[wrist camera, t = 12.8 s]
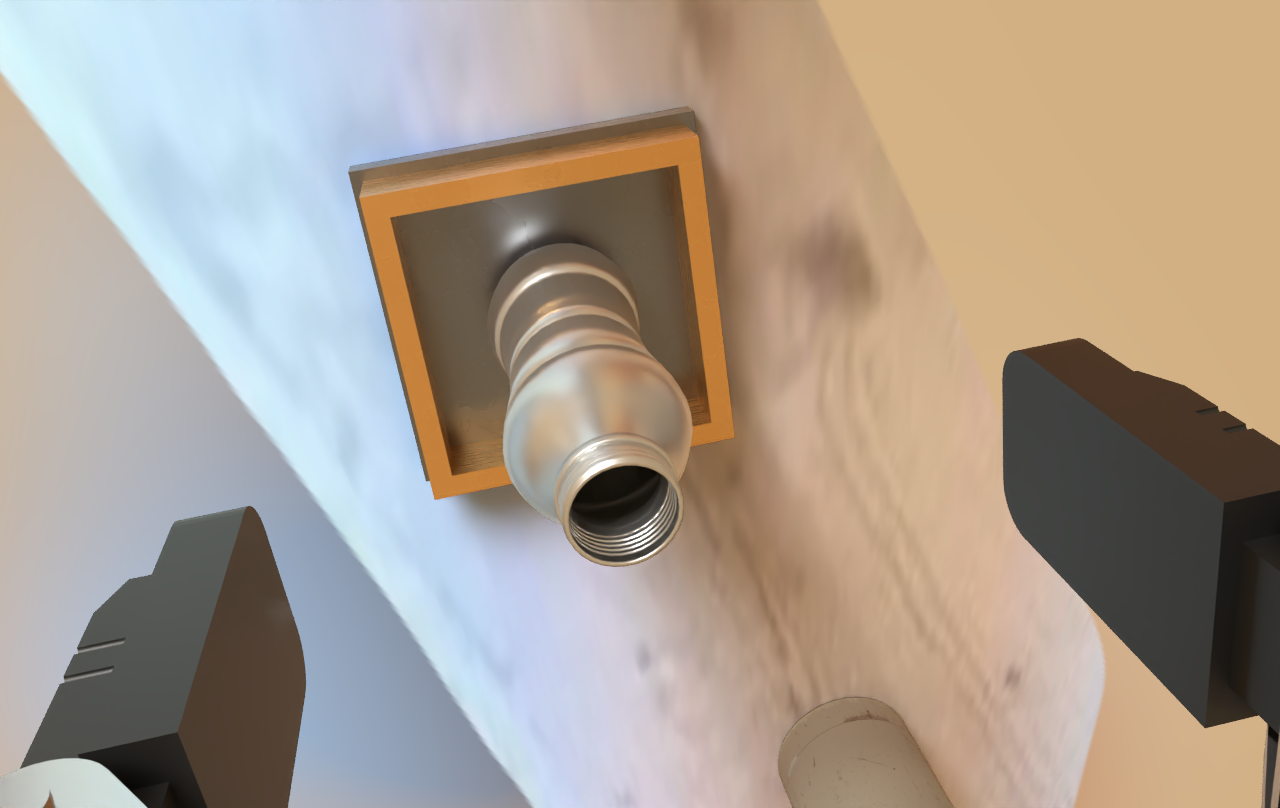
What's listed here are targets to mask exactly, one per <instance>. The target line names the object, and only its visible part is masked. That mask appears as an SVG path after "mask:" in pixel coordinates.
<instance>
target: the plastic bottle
mask: <svg viewBox="0 0 1280 808" xmlns="http://www.w3.org/2000/svg"><path fill="white" fill-rule="evenodd" d="M639 329H640V318H639V308H638V299H637V296H636V293H635V290H634V287H633V285H632V283H631V282H630V280H629V278H628V276H627V275H626V274H625V272H624V271H623V270H622V269H621V268H620V267H619V266H618V265H617V264H616V263H614V262H613V261H612V260H610V259H609V258H607V257H606V256H605V255H603V254H602V253H600V252H599V251H596V250H594V249H592V248H589V247H587V246H583V245H578V244H574V243H557V244H552V245H546V246H543V247H540V248H537V249H535V250H532V251H530V252H529V253H527V254H525V255H524V256H522V257H520V258H519V259H518V260H517V261H516V262H515V263H513V264H512V265H511V266H510V267H509V268H508V270H507V271H506V272H505V273H504V275H503V276H502V277H501V279H500V281H499V283H498V285H497V287H496V289H495V291H494V294H493V296H492V299H491V302H490V306H489V310H488V317H487V330H488V336H489V341H490V344H491V346H492V349H493V351H494V354H495V356H496V358H497V360H498V362H499V363H500V365H501V366H502V368H503V369H504V371H505V372H506V374H507V375H508V377H509V380H510V398H509V403H508V407H507V412H506V417H505V421H504V432H503V455H504V462H505V467H506V470H507V472H508V475H509V477H510V480H511V482H512V483H513V485H514V486H515V488H516V489H517V490H518V492H519V493H520V495H521V496H522V497H523V498H524V499H525V500H526V501H527V502H528V503H529V504H530V505H531V506H532V507H533V508H534V509H535V510H536V511H537V512H539V513H540V514H541V515H543V516H545V517H546V518H548V519H550V520H551V521H553V522H555V523H558V524H561V525H563V529H564V532H565V534H566V537H567V539H568V540H569V542H570V543H571V545H572V546H573V548H574V549H575V550H576V551H577V552H578V553H579V554H580V555H581V556H583V557H584V558H586V559H588V560H589V561H591V562H594V563H597V564H600V565H604V566H611V567H621V566H629V565H634V564H637V563H640V562H643V561H645V560H648V559H649V558H651V557H653V556H655V555H656V554H658V553H659V552H660V551H661V550H663V549H664V548H665V547H666V546H667V545H668V544H669V543H670V542H671V540H672V539H673V538H674V536H675V535H676V533H677V531H678V530H679V527H680V525H681V522H682V519H683V512H684V502H683V494H682V491H681V488H680V485H679V483H678V482H679V480H680V478H681V477H682V475H683V473H684V470H685V467H686V464H687V461H688V459H689V453H690V447H691V440H692V433H693V428H692V416H691V412H690V408H689V405H688V402H687V399H686V397H685V395H684V394H683V392H682V390H681V389H680V387H679V385H678V384H677V382H676V381H675V380H674V378H673V376H672V375H671V374H670V373H669V372H668V371H667V370H666V369H665V368H664V367H663V366H662V365H661V364H660V363H659V362H658V361H657V360H656V359H655V358H654V357H653V356H652V355H651V354H650V353H649V352H648V351H647V349H646V347H645V346H644V344H643V342H642V341H641V337H640V333H639Z"/></svg>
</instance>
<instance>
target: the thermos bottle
mask: <svg viewBox="0 0 1280 808" xmlns="http://www.w3.org/2000/svg"><path fill="white" fill-rule="evenodd" d="M778 768H779V775H780V777H781V780H782V783H783V785H784V788H785V790H786V793H787V795H788V798H789V800H790V803H791V805H792V807H793V808H954V807H953V805H952V803H951V802H950V800H949V798H948V797H947V795H946V793H945V792H944V790H943V788H942V786H941V785H940V783H939V781H938V780H937V778H936V776H935V775H934V773H933V771H932V769H931V768H930V766H929V764H928V763H927V761H926V759H925V757H924V756H923V754H922V752H921V751H920V749H919V747H918V746H917V744H916V742H915V740H914V739H913V737H912V735H911V734H910V732H909V730H908V729H907V727H906V725H905V724H904V722H903V720H902V719H901V717H900V715H898V714H897V713H896V712H895V711H894V710H893V709H892V708H891V707H889V706H887V705H886V704H884V703H882V702H879V701H876V700H873V699H869V698H860V697H855V698H844V699H839V700H834V701H831V702H829V703H826V704H824V705H821V706H819V707H817V708H816V709H814V710H812V711H810V712H809V713H807V714H806V715H805V716H804V717H802V718H801V719H800V720H799V721H798V722H797V723H796V724H795V725H794V726H793V727H792V729H791V730H790V731H789V733H788V734H787V736H786V737H785V739H784V741H783V744H782V746H781V749H780V752H779V759H778Z"/></svg>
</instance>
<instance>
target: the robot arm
mask: <svg viewBox="0 0 1280 808" xmlns="http://www.w3.org/2000/svg"><path fill="white" fill-rule="evenodd" d="M1003 480H1004V491H1005V496H1006V501H1007V504H1008V508H1009V511H1010V514H1011V516H1012V518H1013V521H1014V523H1015V525H1016V527H1017V528H1018V530H1019V532H1020V533H1021V534H1022V536H1023V537H1024V538H1025V539H1026V540H1027V541H1028V542H1029V543H1030V544H1031V545H1032V547H1033V548H1034V549H1035V550H1036V551H1037V552H1038V553H1039V554H1040V555H1041V556H1042V557H1043V558H1044V559H1045V560H1046V561H1047V562H1048V563H1049V564H1050V565H1051V567H1052V568H1053V569H1054V570H1055V571H1056V572H1057V573H1058V574H1059V575H1060V576H1061V577H1062V578H1063V579H1064V580H1065V581H1066V582H1067V583H1068V584H1069V585H1070V587H1071V588H1072V589H1073V590H1074V591H1075V592H1076V593H1077V594H1078V595H1079V596H1080V597H1081V598H1082V599H1083V600H1084V601H1085V602H1086V603H1087V604H1088V606H1089V607H1090V608H1091V609H1092V610H1093V611H1094V612H1095V613H1096V614H1097V615H1098V616H1099V617H1100V618H1101V619H1102V620H1103V621H1104V622H1105V623H1106V624H1107V626H1108V627H1110V629H1111V630H1112V631H1113V632H1114V633H1115V634H1116V635H1117V636H1118V637H1119V638H1120V639H1121V640H1122V641H1123V642H1124V643H1125V644H1126V646H1127V647H1128V648H1130V650H1131V651H1132V652H1133V653H1134V654H1135V655H1136V656H1137V657H1138V658H1139V659H1140V660H1141V661H1142V662H1143V663H1144V664H1145V666H1146V667H1147V668H1148V669H1149V670H1151V672H1152V673H1153V674H1154V675H1155V676H1156V677H1157V678H1158V679H1159V680H1160V681H1161V682H1162V683H1163V685H1164V686H1165V687H1167V689H1168V690H1169V691H1170V692H1171V693H1172V694H1173V695H1174V696H1175V697H1176V698H1177V699H1178V700H1179V701H1180V702H1181V703H1182V705H1183V706H1184V707H1185V708H1186V709H1187V710H1188V711H1189V712H1190V713H1191V714H1192V715H1193V716H1194V717H1195V718H1196V719H1197V720H1198V721H1199V722H1200V724H1201V725H1203V726H1204V728H1208V727H1212V726H1216V725H1220V724H1225V723H1229V722H1233V721H1237V720H1241V719H1245V718H1249V717H1253V716H1258V715H1259V716H1260V717H1261V718H1262V719H1263V720H1264V721H1265V722H1266V723H1267V732H1266V741H1265V750H1264V763H1263V784H1262V785H1263V786H1262V807H1261V808H1280V445H1278V444H1277V443H1275V442H1273V441H1272V440H1270V439H1268V438H1267V437H1265V436H1264V435H1262V434H1260V433H1259V432H1258V431H1256V430H1254V429H1248V430H1247V428H1246V424H1245V423H1243V422H1242V421H1240V420H1238V419H1237V418H1235V417H1234V416H1232V415H1231V414H1229V413H1227V412H1226V411H1221V412H1219V410H1218V406H1216V405H1215V404H1213V403H1211V402H1210V401H1208V400H1206V399H1205V398H1204V397H1202V396H1200V395H1199V394H1197V393H1196V392H1194V391H1192V390H1191V389H1189V388H1188V387H1186V386H1184V385H1181V384H1178V383H1175V382H1172V381H1168V380H1165V379H1162V378H1159V377H1155V376H1152V375H1149V374H1145V373H1142V372H1139V371H1132V370H1131V369H1129V368H1127V367H1126V366H1125V365H1123V364H1122V363H1120V362H1119V361H1117V360H1115V359H1114V358H1112V357H1111V356H1109V355H1108V354H1106V353H1105V352H1103V351H1102V350H1100V349H1099V348H1097V347H1096V346H1094V345H1093V344H1091V343H1090V342H1088V341H1086V340H1084V339H1081V338H1077V339H1071V340H1067V341H1062V342H1057V343H1052V344H1047V345H1042V346H1037V347H1032V348H1027V349H1023V350H1018V351H1013V352H1012V353H1010V354H1009V355H1008V357H1007V358H1006V361H1005V364H1004V368H1003ZM77 649H78V654H76V655H74V656H73V658H72V660H71V662H70V664H69V666H68V668H67V670H66V673H65V675H64V680H65V683H62V684H60V685H59V687H58V689H57V691H56V694H55V696H54V698H53V700H52V702H51V704H50V706H49V708H48V710H47V713H46V715H45V717H44V719H43V721H42V723H41V726H40V727H39V730H38V732H37V734H36V736H35V738H34V740H33V742H32V744H31V746H30V749H29V751H28V753H27V755H26V757H25V759H24V761H23V763H22V765H21V768H20V769H19V770H16V771H13V772H11V773H9V774H6V775H4V776H2V777H0V808H288V802H289V796H290V789H291V783H292V776H293V770H294V764H295V757H296V751H297V744H298V738H299V731H300V724H301V718H302V712H303V705H304V698H305V690H306V673H305V663H304V656H303V650H302V645H301V641H300V636H299V633H298V630H297V626H296V623H295V620H294V617H293V614H292V611H291V608H290V605H289V602H288V599H287V596H286V593H285V590H284V587H283V583H282V580H281V578H280V574H279V571H278V568H277V565H276V562H275V559H274V556H273V553H272V550H271V547H270V544H269V541H268V537H267V534H266V531H265V529H264V526H263V523H262V521H261V519H260V517H259V515H258V513H257V512H256V510H255V509H254V508H253V507H251V506H248V507H242V508H237V509H233V510H228V511H223V512H218V513H213V514H208V515H203V516H198V517H194V518H189V519H184V520H179V521H176V522H175V523H174V524H173V525H172V527H171V530H170V532H169V535H168V537H167V539H166V542H165V544H164V547H163V549H162V552H161V554H160V556H159V559H158V561H157V564H156V566H155V568H154V571H153V573H152V575H148V576H144V577H138V578H133V579H129V580H128V581H127V582H126V583H125V584H124V585H123V586H122V587H121V588H120V589H119V590H117V591H116V592H115V593H114V594H113V595H112V596H111V597H110V598H109V599H108V600H107V601H106V602H105V603H104V604H103V605H102V606H101V607H100V608H99V609H98V610H97V611H95V612H94V613H93V616H92V618H91V620H90V622H89V624H88V626H87V628H86V630H85V632H84V634H83V637H82V639H81V641H80V643H79V645H78V647H77Z"/></svg>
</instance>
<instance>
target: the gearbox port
mask: <svg viewBox="0 0 1280 808" xmlns="http://www.w3.org/2000/svg"><path fill="white" fill-rule="evenodd" d="M348 173H349V177H350V181H351V184H352V188H353V192H354V196H355V200H356V204H357V208H358V212H359V216H360V220H361V224H362V228H363V232H364V236H365V240H366V244H367V248H368V252H369V256H370V260H371V264H372V268H373V272H374V276H375V280H376V284H377V288H378V292H379V296H380V300H381V304H382V308H383V312H384V316H385V320H386V324H387V328H388V332H389V336H390V340H391V344H392V347H393V351H394V355H395V359H396V363H397V367H398V371H399V375H400V379H401V383H402V387H403V391H404V395H405V399H406V403H407V407H408V411H409V415H410V419H411V423H412V427H413V431H414V435H415V439H416V443H417V447H418V451H419V455H420V459H421V463H422V467H423V471H424V475H425V479H426V481H430V483H431V487H432V491H433V495H434V499H435V500H436V499H441V498H446V497H451V496H456V495H460V494H465V493H470V492H475V491H480V490H485V489H489V488H494V487H499V486H504V485H509V484H513V483H512V482H511V480H510V477H509V475H508V472H507V470H506V467H505V462H504V455H503V432H504V421H505V417H506V412H507V407H508V403H509V398H510V380H509V377H508V375H507V374H506V372H505V371H504V369H503V368H502V366H501V365H500V363H499V362H498V360H497V358H496V356H495V354H494V351H493V349H492V346H491V344H490V341H489V336H488V330H487V317H488V310H489V306H490V302H491V299H492V296H493V294H494V291H495V289H496V287H497V285H498V283H499V281H500V279H501V277H502V276H503V275H504V273H505V272H506V271H507V270H508V268H509V267H510V266H511V265H512V264H513V263H515V262H516V261H517V260H518V259H519V258H520V257H522V256H524V255H525V254H527V253H529V252H530V251H532V250H535V249H537V248H540V247H543V246H546V245H552V244H557V243H574V244H578V245H583V246H587V247H589V248H592V249H594V250H596V251H599V252H600V253H602V254H603V255H605V256H606V257H607V258H609V259H610V260H612V261H613V262H614V263H616V264H617V265H618V266H619V267H620V268H621V269H622V270H623V271H624V272H625V274H626V275H627V276H628V278H629V280H630V282H631V283H632V285H633V287H634V290H635V293H636V296H637V299H638V308H639V318H640V329H639V333H640V337H641V341H642V342H643V344H644V346H645V347H646V349H647V351H648V352H649V353H650V354H651V355H652V356H653V357H654V358H655V359H656V360H657V361H658V362H659V363H660V364H661V365H662V366H663V367H664V368H665V369H666V370H667V371H668V372H669V373H670V374H671V375H672V376H673V378H674V380H675V381H676V382H677V384H678V385H679V387H680V389H681V390H682V392H683V394H684V395H685V397H686V399H687V402H688V405H689V408H690V412H691V416H692V428H693V433H692V440H691V447H692V446H697V445H702V444H707V443H711V442H716V441H721V440H726V439H731V438H735V435H734V427H733V419H732V410H731V402H730V394H729V385H728V377H727V369H726V360H725V352H724V343H723V335H722V327H721V318H720V310H719V302H718V293H717V285H716V277H715V268H714V260H713V252H712V243H711V235H710V227H709V218H708V210H707V202H706V193H705V185H704V177H703V168H702V160H701V152H700V143H699V137H698V136H697V134H696V126H695V118H694V111H693V110H692V109H691V108H689V107H682V108H676V109H671V110H665V111H660V112H654V113H648V114H643V115H637V116H631V117H626V118H620V119H615V120H609V121H603V122H598V123H592V124H586V125H581V126H575V127H569V128H564V129H558V130H553V131H547V132H541V133H536V134H530V135H524V136H519V137H513V138H507V139H502V140H496V141H491V142H485V143H479V144H474V145H468V146H462V147H457V148H451V149H445V150H440V151H434V152H429V153H423V154H417V155H412V156H406V157H400V158H395V159H389V160H383V161H378V162H372V163H367V164H361V165H355V166H350V169H349V172H348Z"/></svg>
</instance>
